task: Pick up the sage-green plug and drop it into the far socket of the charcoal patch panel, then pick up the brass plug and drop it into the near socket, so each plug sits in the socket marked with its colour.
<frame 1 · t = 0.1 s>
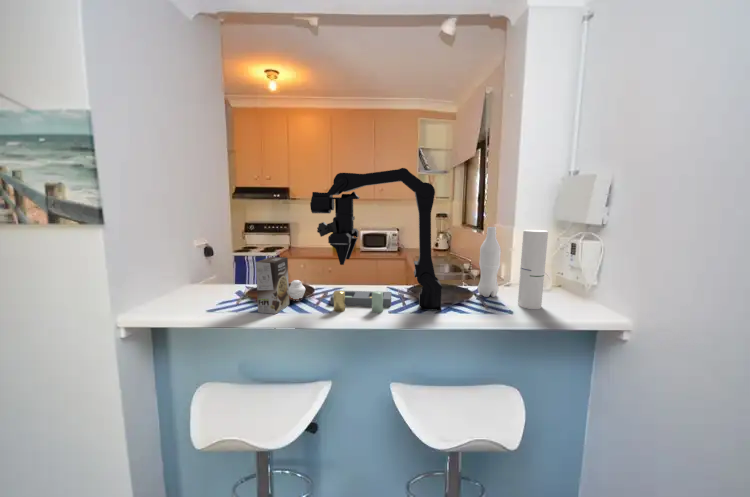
hand: (345, 261, 104), 15 cm above the countertop, tool pointing down, fingers open, 9 cm apart
patch panel: (361, 301, 110), on the countertop
water bottle: (487, 295, 117), on the countertop
brass plug: (339, 310, 101), on the countertop
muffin: (296, 299, 112), on the countertop
sage plug: (377, 310, 101), on the countertop
coffee box: (274, 309, 102), on the countertop
cylindrical container: (529, 306, 107), on the countertop
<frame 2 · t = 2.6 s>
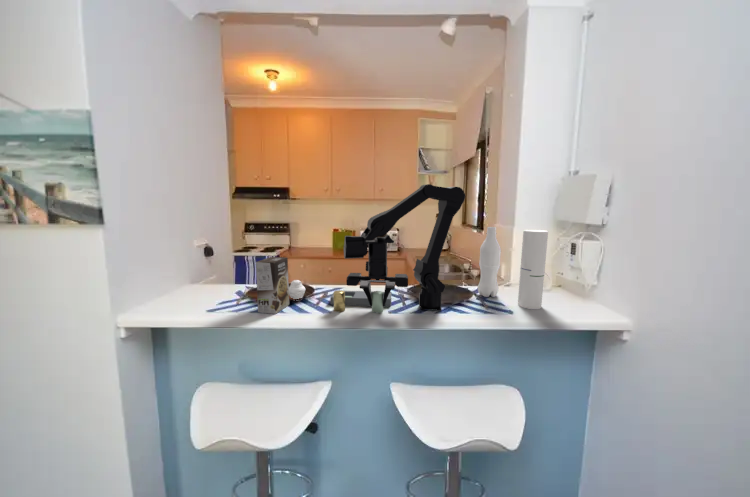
hand: (377, 306, 101), 2 cm above the countertop, tool pointing down, fingers closed on sage plug, 3 cm apart
sage plug: (377, 310, 101), on the countertop, touching gripper
everything else where it was.
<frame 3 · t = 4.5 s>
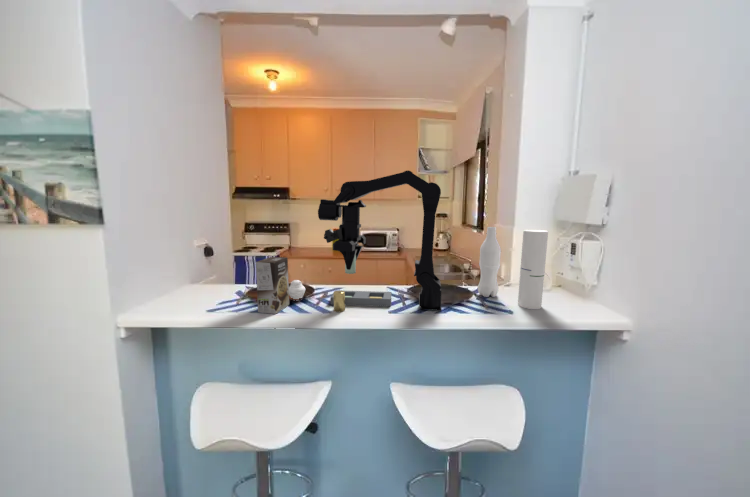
hand: (350, 268, 107), 12 cm above the countertop, tool pointing down, fingers closed on sage plug, 3 cm apart
sage plug: (350, 272, 107), point 10 cm above the countertop, touching gripper
everything else where it was.
when the fingers open (3 cm above the countertop, at t = 6.5 s): sage plug drops 2 cm, resting in patch panel.
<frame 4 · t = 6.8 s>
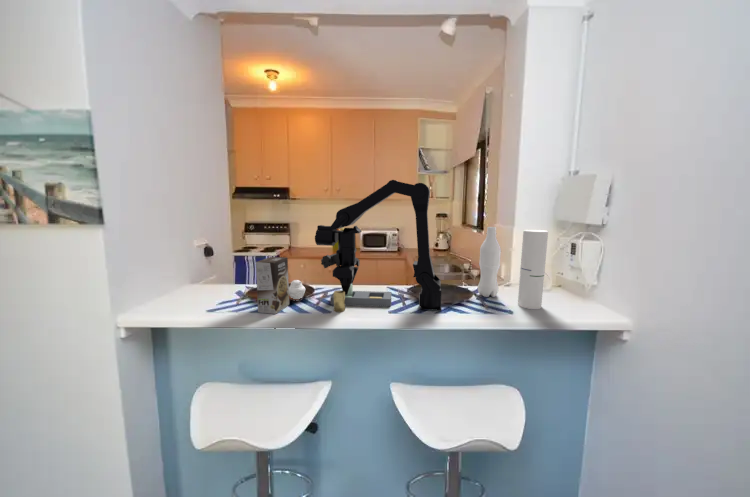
hand: (347, 291, 109), 3 cm above the countertop, tool pointing down, fingers open, 7 cm apart
sage plug: (347, 301, 110), resting in patch panel
everything else where it was.
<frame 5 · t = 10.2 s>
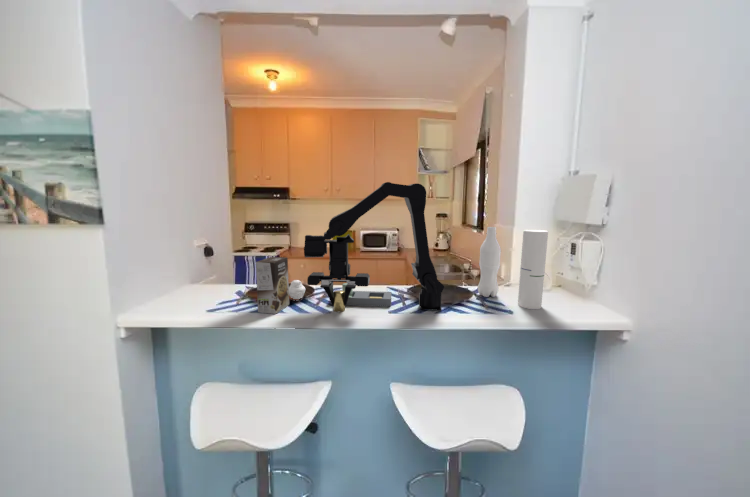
hand: (339, 305, 101), 2 cm above the countertop, tool pointing down, fingers closed on brass plug, 3 cm apart
brass plug: (339, 310, 101), on the countertop, touching gripper
everything else where it was.
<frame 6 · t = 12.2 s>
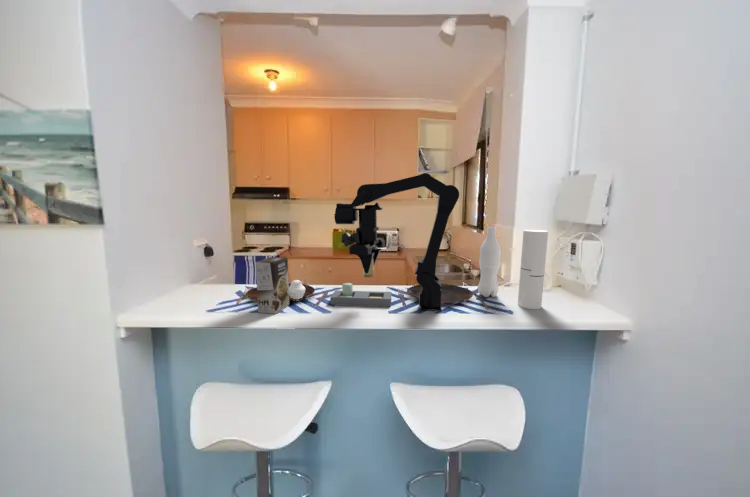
hand: (368, 271, 105), 11 cm above the countertop, tool pointing down, fingers closed on brass plug, 3 cm apart
brass plug: (368, 276, 106), point 10 cm above the countertop, touching gripper
everything else where it was.
when the fingers open (4 cm above the countertop, at t = 14.2 s): brass plug drops 2 cm, resting in patch panel.
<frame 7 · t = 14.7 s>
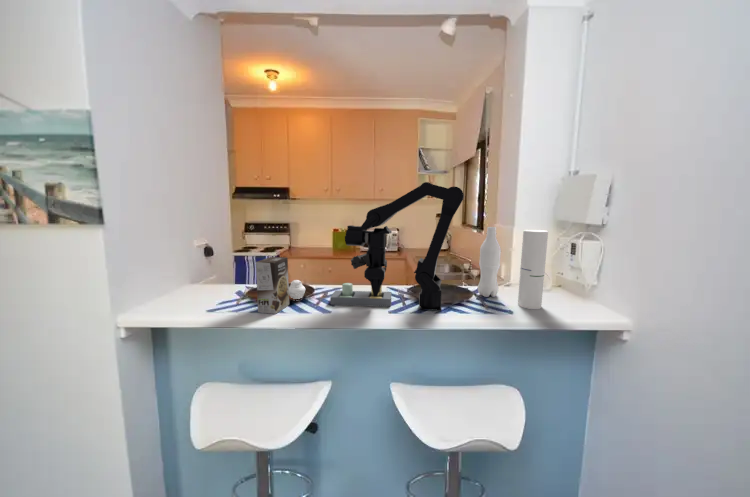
hand: (376, 292, 109), 3 cm above the countertop, tool pointing down, fingers open, 9 cm apart
brass plug: (376, 302, 109), resting in patch panel
everything else where it was.
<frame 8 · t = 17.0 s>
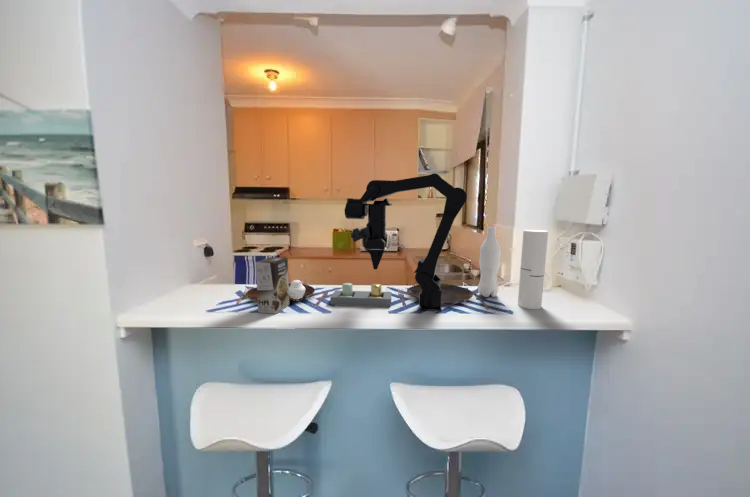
hand: (376, 266, 107), 12 cm above the countertop, tool pointing down, fingers open, 9 cm apart
nothing on the countertop moved.
at the end: sage plug 0.1 cm from the target spot on the patch panel, point 0.0 cm above the patch panel's base; brass plug 0.0 cm from the target spot on the patch panel, point 0.0 cm above the patch panel's base; brass plug tilted 1° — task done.
